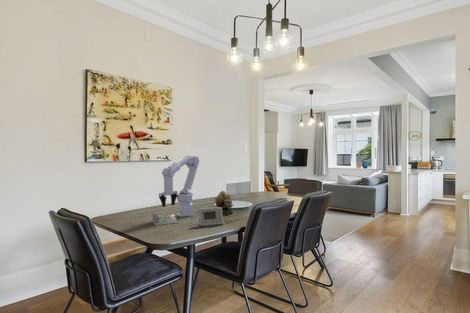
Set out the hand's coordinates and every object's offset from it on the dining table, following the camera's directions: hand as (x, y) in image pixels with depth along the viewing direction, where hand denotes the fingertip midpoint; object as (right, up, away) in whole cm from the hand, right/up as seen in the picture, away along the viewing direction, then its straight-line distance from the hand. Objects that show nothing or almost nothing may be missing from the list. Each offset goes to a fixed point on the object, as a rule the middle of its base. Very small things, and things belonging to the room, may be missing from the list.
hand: (168, 205), depth 195 cm
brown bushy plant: (+36, -10, +25) cm, 45 cm away
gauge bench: (-1, -10, -6) cm, 11 cm away
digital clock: (+29, -10, -11) cm, 33 cm away
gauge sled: (+2, -8, -4) cm, 10 cm away
